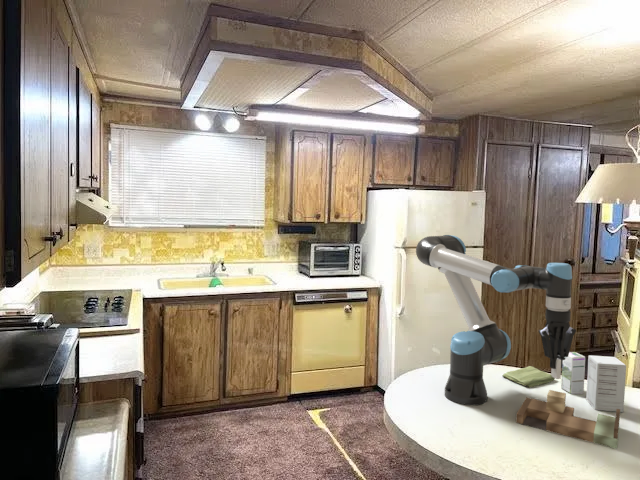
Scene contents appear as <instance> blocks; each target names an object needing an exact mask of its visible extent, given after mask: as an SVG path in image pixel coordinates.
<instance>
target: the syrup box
mask: <svg viewBox="0 0 640 480" xmlns="http://www.w3.org/2000/svg"><path fill="white" fill-rule="evenodd" d="M564 358H565V360H563V366H562V368H561V389H562V390H564V391H565V392H566V393H568V394H570V395H579V394H585V371H586V368H585V367H586V356H585V355H583V354H580V353H578V352H576V351H569V355H568V357H564Z"/></svg>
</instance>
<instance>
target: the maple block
mask: <svg viewBox="0 0 640 480" xmlns="http://www.w3.org/2000/svg"><path fill="white" fill-rule="evenodd" d="M566 397H567V392H566V393H565V392H561V391H557V390H553V389H549V390H548V392H547V394H546V402H547V408H546V409H548V410H552V411H556V412H560V413H563V412H564V409H565V406H566V402H567V401H566V400H567V398H566Z"/></svg>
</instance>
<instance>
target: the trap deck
mask: <svg viewBox="0 0 640 480" xmlns="http://www.w3.org/2000/svg"><path fill="white" fill-rule="evenodd" d="M546 408H547V401H544V400H541V399H537V398H536V399H535V398H531V397H527V396H526V397H525V399H524V401H523V402H522V404H521V405H520V407H519V409H518V411H517V412H516V414H515V423H516V424H519V425H523V426H527V427H532V428H535V429H539V430H543V431H545V432H550V433H554V434H559V435H562V436H566V437H569V438H570V437H571V438H574V439H577V440H578V439H579V440H582V441H585V442H590V443H594V444H597V445H601V446H604V447H609V448H612V449H616V450H617V449H618V440H619V433H620V432H619V431H620V419H621V412H620V409H616V412H615V417H614V416H611V415H606V414H601V413H597V417H596V421H595V420H594V419H593V420H592V419H588V418H583V417H580V416H579V417H578V416H574V415H575V408H574V407H571V406H566V405H565V409H564V412H563V413H560V412H556V411H552V410H548V409H546Z"/></svg>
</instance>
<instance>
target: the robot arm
mask: <svg viewBox="0 0 640 480" xmlns="http://www.w3.org/2000/svg"><path fill="white" fill-rule="evenodd" d="M466 252H467V247H466V245H465V242H464V241H463V240H462V238H460V237H458V236H456V235H450V234H444V235H435V236H434V235H433V236H432V235H431V236H426V237H424V238H422V239H420V241H418V243H417V244H416V248H415V255H416V258H417V259H418V260H419V262H420V263H422V264H423V265H425V266H428V267H431V268H434V269H438V271H439V272H440V273H442V274H444V276H445V277H446V281H447V282H448V284H449V287H450V289H451V291H452V293H453V295H454V298H455V300H456V303H457V305H458V307H459V309H460V311H461V313H462V316H463V318H464V320H465V323H466V325H467V327H468V330H467V331H458V332H456V333H454V334H453V335H452V337H451V339H450V340H451V341H450V348H449V349H450V362H449V363H450V364H449V365H450V366H449V376H448V379H447V382H446V384H445V386H444V396H445V397H446V399H448V400H450V401H452V402H454V403H457V404H461V405H469V406H477V405H482V404H484V403H486V402H487V400H488V392H487V391H488V390H487V388H486V384H485V381H484V366H487V365H490V364H493V363H499V362H500V361H502V360H504V359H506V358H507V357H508V356H509V354H510V351H511V350H512V349H511V348H512V344H511V343H512V341H511V338H510V337H509V335H508V333H507V332H505V331H503V330H502V329H500V328H499V327H498V325H497V323H496V322H495V321H493V320H491V319H490V318H489V316H488V314H487V311H486V309H485V307H484V305H483V302H482V300H481V298H480V297H479V294H478V292H477V290H476V288H475V286H474V284H473V281H472V280H475V281H478V282H481V283H483V284H486V285H489V286H492V287H493V288H494V290H495V291H497V292H499V293H512V292H515V291H516V292H517V291H520V290H521V291H522V290H528V289H538V290H545V307H546V308H545V317H544V318H545V321H546V323H545V324H544V327H543V329H541V328H540V329H538V333H539V336H540V337H541V341H542V347H543V353H544V356H545V357H547V358H548V359H549V368H550V372H551V373H550V374H551V376H552V377H554V378H555V379H556V380H562V366H563V360H565V358H564V357H568V355H569V352H571V347H572V343H573V339H574V336H575V333H576V332H577V330H576V328H573V327H571V326H570V322H571V314H572V313H571V307H572V305H571V304H572V284H573V283H572V282H573V281H572V280H573V272H572V271H573V268H572V266H571V264H569V263H565V262H548V263H547V264H546V267H541V266H532V265H526V264H524V265H520V264H518V265H515V267H514V268H509V267H506V266H503V265H500V264H498V263H497V264H496V263H493V262H490V261H488V260H484V259H481V258H478V257H476V256H475V257H474V256H472V255H468V254H466ZM471 279H472V280H471Z"/></svg>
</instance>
